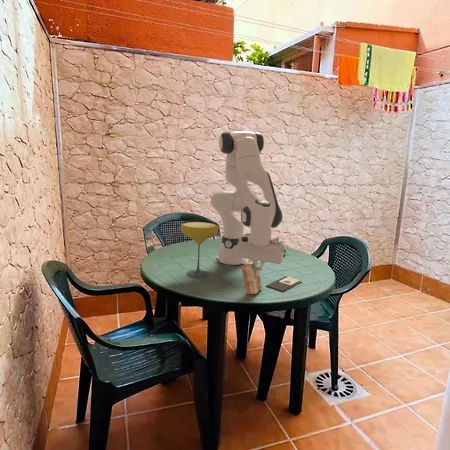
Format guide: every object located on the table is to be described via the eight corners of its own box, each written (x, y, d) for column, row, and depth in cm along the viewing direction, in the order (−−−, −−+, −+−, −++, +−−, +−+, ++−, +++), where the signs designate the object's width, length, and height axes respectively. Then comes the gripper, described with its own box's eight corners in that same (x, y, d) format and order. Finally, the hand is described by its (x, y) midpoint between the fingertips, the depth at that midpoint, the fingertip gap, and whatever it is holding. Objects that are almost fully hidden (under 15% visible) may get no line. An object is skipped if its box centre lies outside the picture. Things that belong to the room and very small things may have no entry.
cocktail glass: (200, 283, 156) (202, 229, 151) (171, 274, 166) (172, 223, 161) (223, 273, 170) (226, 224, 165) (195, 265, 180) (197, 218, 175)
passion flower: (270, 262, 210) (260, 245, 212) (281, 256, 217) (272, 239, 219) (281, 256, 202) (271, 238, 203) (292, 250, 208) (283, 233, 210)
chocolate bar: (265, 285, 156) (285, 276, 170) (265, 287, 156) (285, 278, 170) (283, 291, 150) (302, 281, 164) (283, 293, 150) (302, 282, 164)
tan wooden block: (254, 287, 154) (248, 261, 153) (262, 286, 152) (256, 260, 151) (247, 294, 146) (241, 267, 145) (255, 293, 144) (249, 266, 143)
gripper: (286, 240, 143) (283, 272, 146) (240, 234, 151) (239, 264, 154) (282, 244, 138) (279, 276, 140) (235, 237, 145) (233, 268, 148)
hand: (258, 270), depth 147 cm, fingers closed
